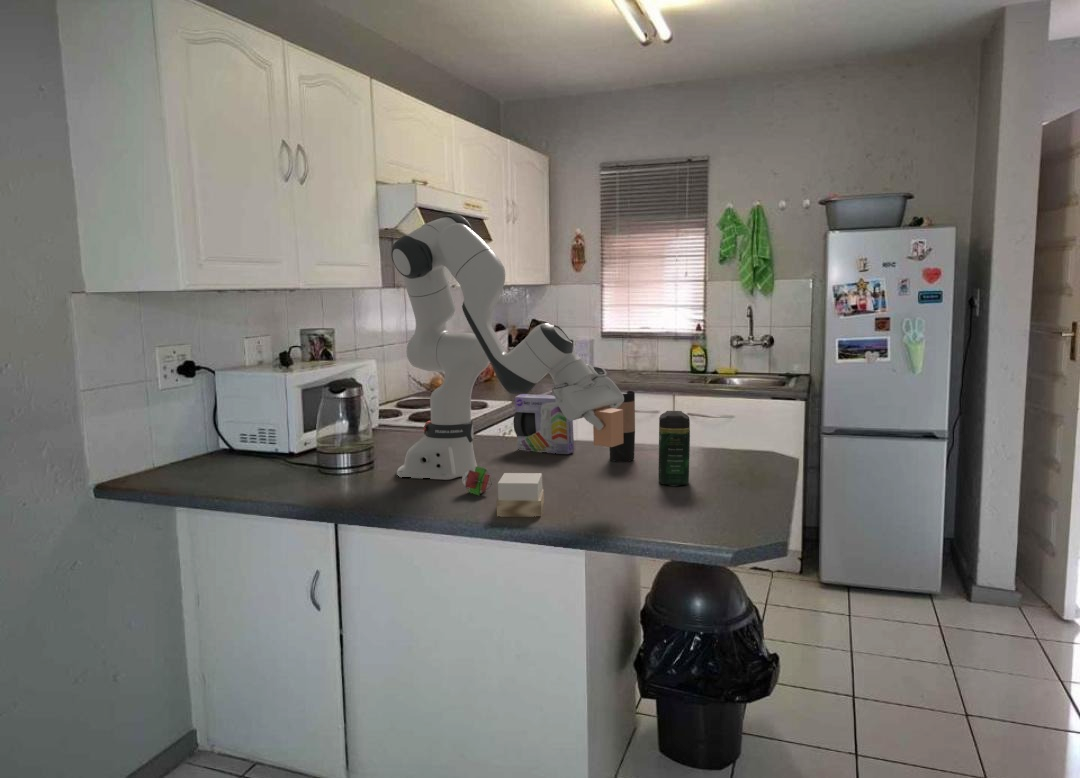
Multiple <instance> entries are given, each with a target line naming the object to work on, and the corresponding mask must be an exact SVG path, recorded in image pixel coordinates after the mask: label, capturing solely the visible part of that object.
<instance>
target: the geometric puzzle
mask: <svg viewBox="0 0 1080 778" xmlns="http://www.w3.org/2000/svg"><path fill="white" fill-rule="evenodd" d="M468 472H469V474H468ZM467 474H468V475H467ZM490 475H491V474H489V473H488V470H487V468H483V467H479V466H477V467H476V468H475V472H474V471H470V470H469V471H467V472H464V474H463V476H461V478H462V479H461V484H463V486H464V487H465V489H466V490H467V491H468V493H469V492H470V494H472V493H473V495H475V496H478V497H479V496H481V495H483V493H485V492H486V491H487V490H488V489H489V487H488V485H490V486H493V482H490V483H489V480H490V477H491V476H490ZM480 491H482V492H480Z"/></svg>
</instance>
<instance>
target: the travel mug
mask: <svg viewBox="0 0 1080 778" xmlns="http://www.w3.org/2000/svg"><path fill="white" fill-rule="evenodd" d="M621 393H622V394H623V396H624V402H623V403H622V404H621V405H620V406H619V407H618V408H616V409H622V410H623V444H620V445H617V446H614V447H608V448H609V459H611V461H612V460H615V461H614V462H617V461H628V462H630V461H629V460H632V461H634V460H633V459H635V448H636V447H635V446H636V445H635V443H636V442H635V440H636V438H635V437H636V408H635V407H636V404H635V403H636V401H635V400H636V399H635V398H636V394H635V391H633V390H628V391H626V392H624V391H621Z"/></svg>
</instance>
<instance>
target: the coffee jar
mask: <svg viewBox="0 0 1080 778" xmlns="http://www.w3.org/2000/svg"><path fill="white" fill-rule="evenodd" d="M690 422H691V421H690V417H689V415H688V414H686V413H684V412H683V411H682V410H666V411H665V412H663V413H661V414H660V416H659V417H658V482H659V483H660V484H661V485H669V486H671V487H678V486H682V485H688V484H689V480H690V456H691V455H690V454H691V453H690V452H691V451H690V450H691V449H690V448H691V431H690V430H691V427H690V426H691V424H690Z"/></svg>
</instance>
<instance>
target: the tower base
mask: <svg viewBox="0 0 1080 778" xmlns="http://www.w3.org/2000/svg"><path fill="white" fill-rule="evenodd" d="M544 489H545V488H542V492H541V495H540V497H539V500H538V501H509V500H498V498H497V499H496V517H498V516H500V517H503V518H504V517H510V518H511V517H516V518H517V517H521V518H522V517H524V518H525V517H527V518H528V517H531V518H533V517H534V516H535V517H536V516H541V517H542V514H543V511H542V510H544V505H545V493H544V491H545V490H544Z"/></svg>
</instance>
